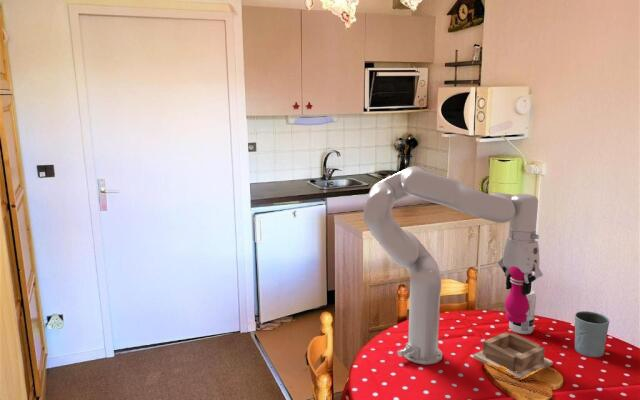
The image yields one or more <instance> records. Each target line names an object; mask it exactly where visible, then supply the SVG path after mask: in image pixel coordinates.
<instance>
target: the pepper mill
mask: <svg viewBox="0 0 640 400" xmlns="http://www.w3.org/2000/svg"><path fill="white" fill-rule="evenodd" d="M509 273H510V275H511V277H510V279H511V280H510V282H511V283H512V287H511V289H510V291H509V292H508V293H509V294H508V295H507V297H506V298H505V302H504V308H505V309H506V311H505V319H506V320H507V321H511V322H515V323H524V322H526V321H527V314H526V313H527V312H528V311H529V302H528V299H527V297H526V295H523V294H522V290H523V283H524V282H525V279H524V273H522V272H521V270H520V269H519V268H517V267H515V266H512V267H510V269H509ZM528 276H529V275H528Z"/></svg>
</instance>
